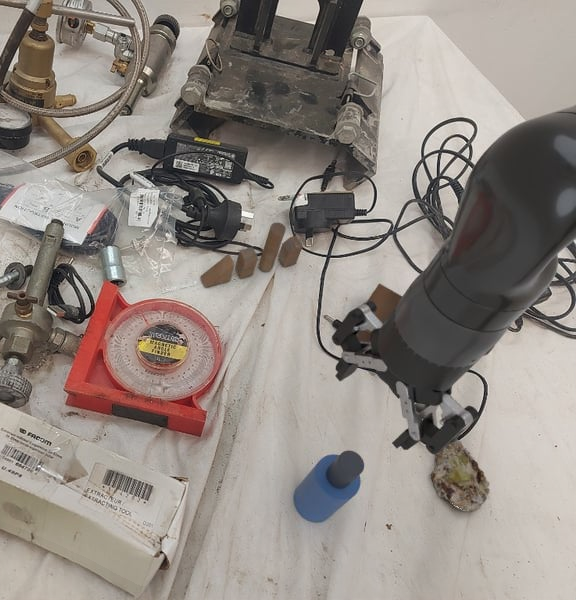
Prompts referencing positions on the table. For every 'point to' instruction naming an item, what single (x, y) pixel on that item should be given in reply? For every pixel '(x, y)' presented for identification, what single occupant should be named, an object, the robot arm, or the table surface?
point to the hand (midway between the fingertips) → (371, 407)
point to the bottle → (329, 486)
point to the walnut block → (381, 307)
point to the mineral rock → (460, 477)
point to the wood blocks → (254, 258)
